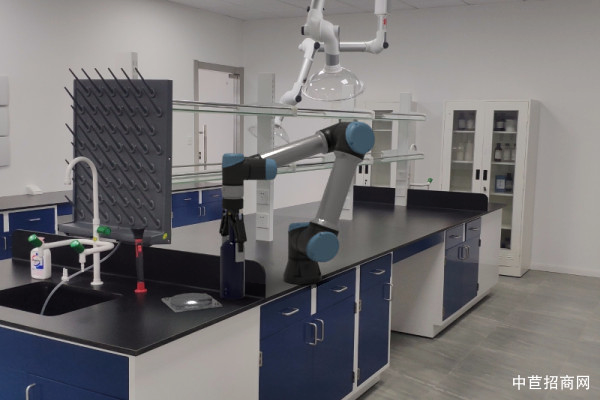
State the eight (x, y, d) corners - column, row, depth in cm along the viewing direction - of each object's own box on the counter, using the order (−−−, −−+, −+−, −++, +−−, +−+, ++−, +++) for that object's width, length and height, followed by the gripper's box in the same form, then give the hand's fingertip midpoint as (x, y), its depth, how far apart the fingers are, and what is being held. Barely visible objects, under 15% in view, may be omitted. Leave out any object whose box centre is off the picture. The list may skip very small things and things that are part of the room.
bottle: (216, 293, 225) (216, 210, 222) (241, 292, 228) (241, 210, 225) (222, 300, 216) (222, 214, 213) (248, 298, 220) (249, 213, 216)
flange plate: (206, 295, 223) (206, 290, 223) (222, 306, 209) (222, 301, 209) (161, 300, 216) (161, 295, 215) (175, 312, 202) (175, 307, 201)
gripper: (210, 194, 228) (210, 252, 230) (236, 201, 206) (235, 265, 208) (229, 193, 231) (229, 250, 233) (257, 200, 209) (256, 263, 212)
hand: (232, 257), depth 221 cm, fingers open, 13 cm apart
